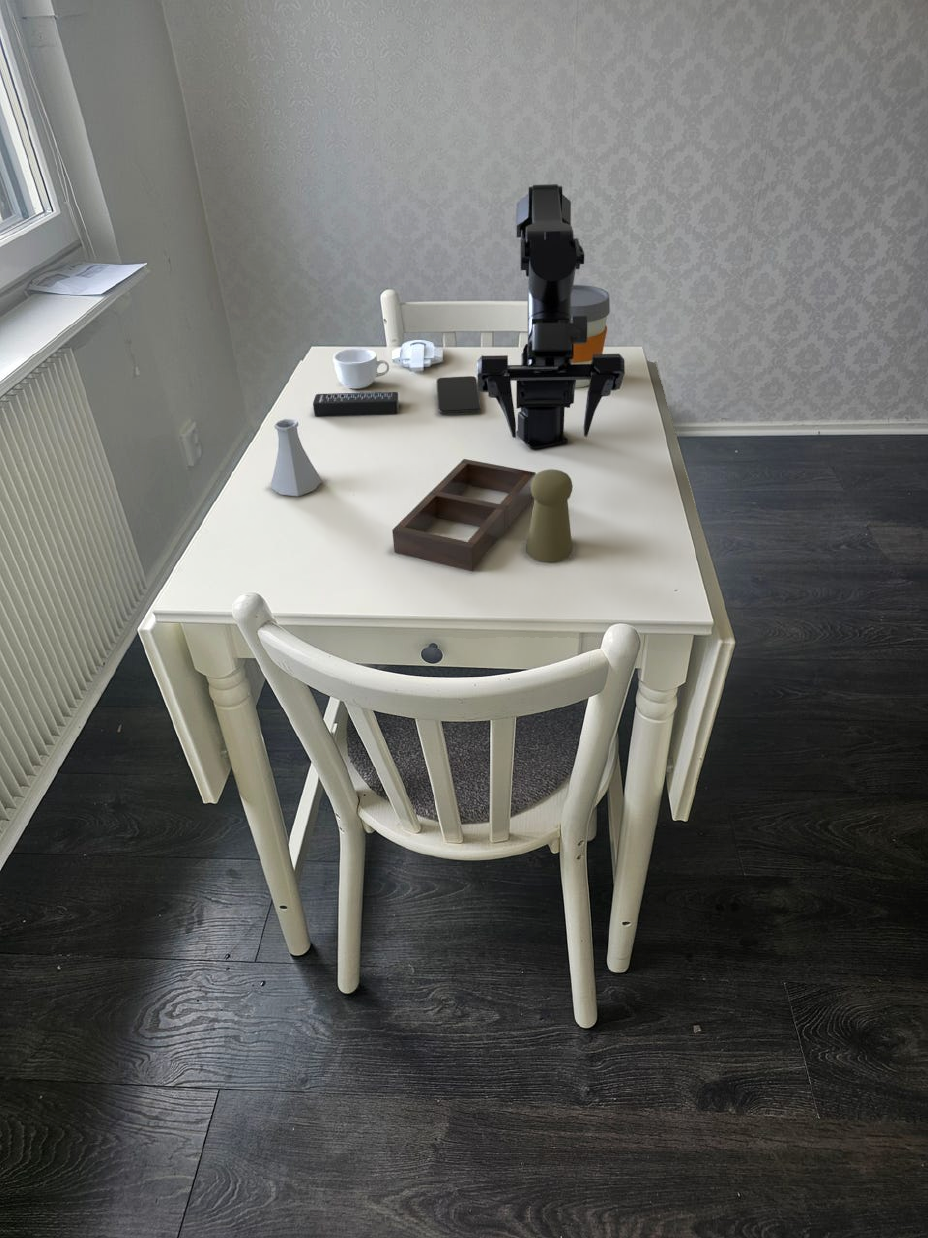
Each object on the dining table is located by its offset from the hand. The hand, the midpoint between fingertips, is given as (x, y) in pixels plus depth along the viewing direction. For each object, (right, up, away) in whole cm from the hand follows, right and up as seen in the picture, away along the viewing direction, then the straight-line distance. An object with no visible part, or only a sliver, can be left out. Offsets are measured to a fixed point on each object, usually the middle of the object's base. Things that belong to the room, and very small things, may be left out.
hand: (550, 436), depth 110 cm
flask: (-36, -4, +18) cm, 41 cm away
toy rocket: (-20, +27, +58) cm, 67 cm away
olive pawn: (0, -15, +2) cm, 15 cm away
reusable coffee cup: (+9, +21, +47) cm, 52 cm away
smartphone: (-12, +16, +42) cm, 46 cm away
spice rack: (-10, -10, +8) cm, 17 cm away
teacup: (-30, +20, +48) cm, 60 cm away
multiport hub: (-30, +13, +39) cm, 51 cm away
